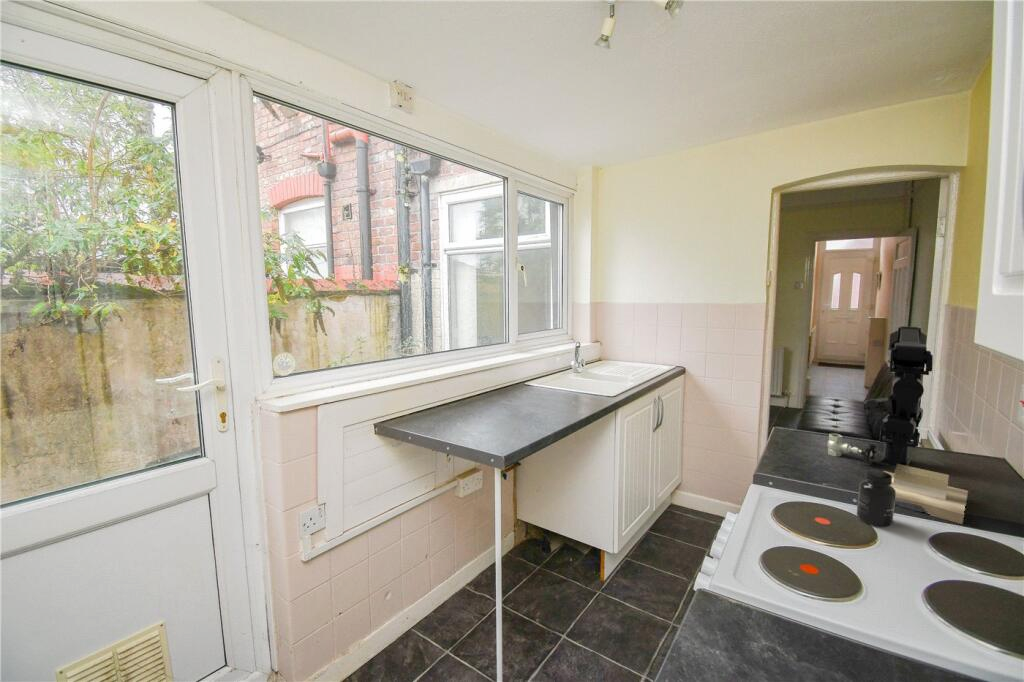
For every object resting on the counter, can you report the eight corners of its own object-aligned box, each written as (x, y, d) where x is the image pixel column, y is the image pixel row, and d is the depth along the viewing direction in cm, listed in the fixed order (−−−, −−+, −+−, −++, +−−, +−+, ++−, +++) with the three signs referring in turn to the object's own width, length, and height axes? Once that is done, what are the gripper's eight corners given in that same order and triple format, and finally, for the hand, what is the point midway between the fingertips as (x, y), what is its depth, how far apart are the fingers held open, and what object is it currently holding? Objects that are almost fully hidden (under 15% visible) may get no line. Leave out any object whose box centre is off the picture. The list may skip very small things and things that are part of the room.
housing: (946, 493, 114) (948, 475, 113) (945, 500, 110) (947, 481, 110) (895, 481, 121) (897, 463, 120) (893, 487, 118) (894, 469, 117)
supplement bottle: (895, 531, 102) (900, 482, 101) (858, 523, 106) (862, 476, 104) (889, 517, 108) (894, 471, 106) (854, 510, 112) (858, 465, 110)
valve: (822, 455, 145) (867, 467, 135) (824, 435, 144) (869, 447, 134) (831, 450, 149) (875, 461, 139) (832, 431, 148) (877, 441, 138)
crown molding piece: (882, 479, 127) (883, 470, 127) (966, 499, 115) (968, 490, 114) (871, 498, 117) (872, 490, 117) (962, 524, 104) (963, 514, 104)
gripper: (874, 380, 129) (869, 431, 132) (860, 393, 117) (855, 449, 120) (926, 387, 121) (920, 441, 124) (916, 401, 109) (910, 461, 111)
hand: (900, 447), depth 120 cm, fingers open, 9 cm apart
